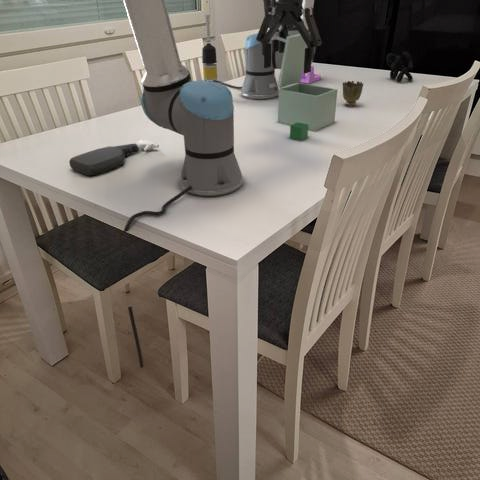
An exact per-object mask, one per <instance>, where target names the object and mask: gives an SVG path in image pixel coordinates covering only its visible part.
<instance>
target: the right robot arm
mask: <svg viewBox="0 0 480 480" xmlns="http://www.w3.org/2000/svg"><path fill="white" fill-rule="evenodd" d="M262 2H263V10H264V11H263V12H264V13H265V12H266V7H267V6H274V7H276V1H275V0H262ZM314 4H315V0H303V3H302V7H303V9H306V8H309V7H312V8H313V9H314ZM276 17H277V16H276V14H274V15H273V18H272V20H271V23H270V25H269V28H268V29H270V27H271V26H272V24H273V22H274V20H275V19H276ZM301 18H302V20H303V22H304V25H305V27H306V28H307V30H308V32H309V29H308V26H307V23H306V20H305V17H304V16H303V14H302V16H301ZM280 27H281V28H279V29H278V30H277V31H276V32H279V37H280V38H283V39H286V38H287V36H288V34H290V35H297V34H300V33H299V31H298V30H297V28H296V27H295V26H294V25H281V26H280ZM257 35H258V32H257V33H253V34H250V35H248V36H247V37H246V38H245V48H244V50H245V51H244V52H245V53H244V55H245V57H244V59H245V77H244V80H243V84H242V86H237V85H232V84H229V83H225V82H224V81H221V80H218V79H217V80H212V81H215V82H218V83H219V84H222V85H224V86H226V87H228V88H229V87H230V88H234V89H239V90H241V91H240V92H241V93H240V95H241V97H242V98H246V99H249V100H270V99H274V98H277V97H279V89H280V88H279V87H278V81H277V79H276V75H275V74H276V71H275V70H281V65H282V60H283V55H284V49H285V44H286V43H285V42H283V41H280V40H277V39H276V40H270V41H269V43H271V67H268V68H264V55H262V43H261V42H260V41H257V40H256V37H257ZM316 47H317V46H316ZM316 47H315V49H316ZM315 54H316V51H315V52H314V55H315ZM313 61H314V59H313V60H311V65H313ZM303 70H304V69H303ZM203 81H207V80H204V79H203Z"/></svg>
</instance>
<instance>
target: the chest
mask: <svg viewBox="0 0 480 480" xmlns="http://www.w3.org/2000/svg"><path fill="white" fill-rule="evenodd" d="M278 89H279V95H278V98H277V99H278V100H277V101H278V102H277V104H278V105H277V123H279V124H284V125H288V126H291V125H293V124H295V123H297V122H298V123H303V124H308V131H309V130H310V131H313V132H316V131H318V130H320V129H324V127H327V126H329V125H331V124H334V123H335V121H336V111H337V110H336V109H337V100H338V99H337V98H338V88H333V87H326V86H320V85H314V84H310V83H302V82H298V83H295V84H291V85H288V86H285V87H282V88H278Z"/></svg>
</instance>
